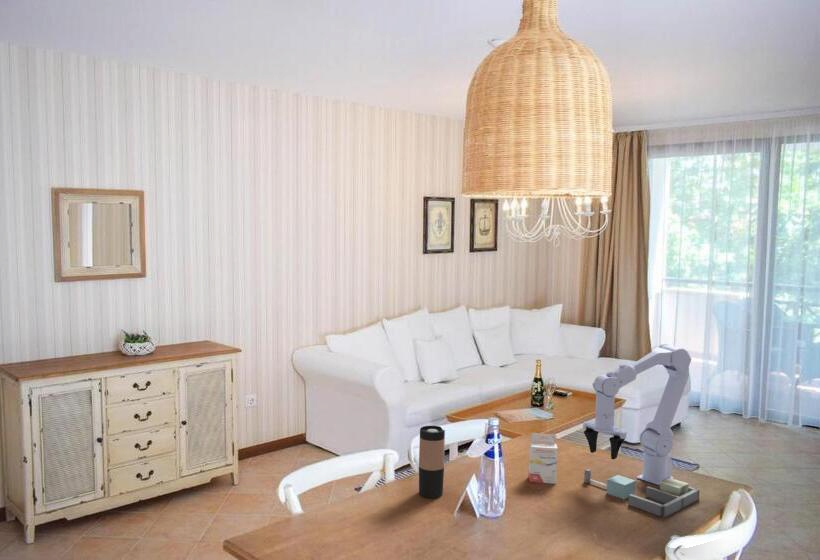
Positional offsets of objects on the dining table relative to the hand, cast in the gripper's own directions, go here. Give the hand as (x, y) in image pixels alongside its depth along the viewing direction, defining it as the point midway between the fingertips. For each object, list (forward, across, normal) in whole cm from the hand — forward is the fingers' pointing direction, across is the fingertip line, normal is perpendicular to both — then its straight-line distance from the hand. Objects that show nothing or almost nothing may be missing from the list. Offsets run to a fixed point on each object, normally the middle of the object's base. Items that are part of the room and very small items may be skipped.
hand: (603, 455), depth 212 cm
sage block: (+10, +20, +7) cm, 23 cm away
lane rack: (+9, +20, +2) cm, 23 cm away
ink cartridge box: (+9, -14, -13) cm, 21 cm away
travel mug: (+9, -27, -49) cm, 57 cm away
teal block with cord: (+9, +3, -3) cm, 10 cm away
